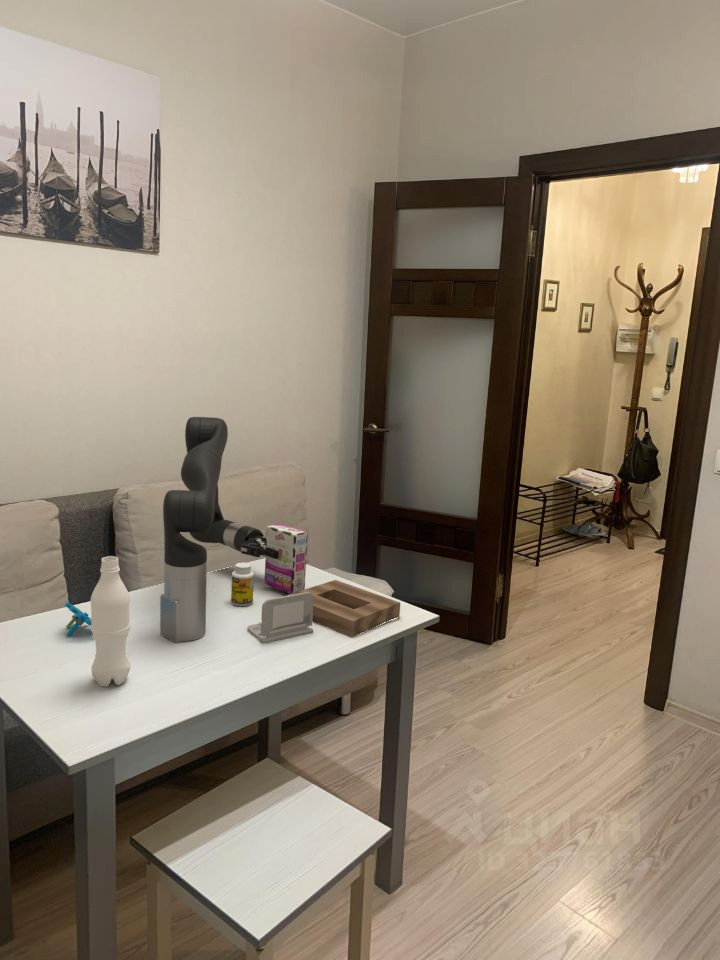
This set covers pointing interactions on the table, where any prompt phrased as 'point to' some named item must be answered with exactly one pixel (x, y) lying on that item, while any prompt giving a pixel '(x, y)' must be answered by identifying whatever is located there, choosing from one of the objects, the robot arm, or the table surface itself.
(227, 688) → the table surface
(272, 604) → the handheld gaming console
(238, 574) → the supplement bottle
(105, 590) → the water bottle
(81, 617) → the blue green plastic toy
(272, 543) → the candy bar box
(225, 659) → the table surface
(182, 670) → the table surface
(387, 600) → the walnut holder block
